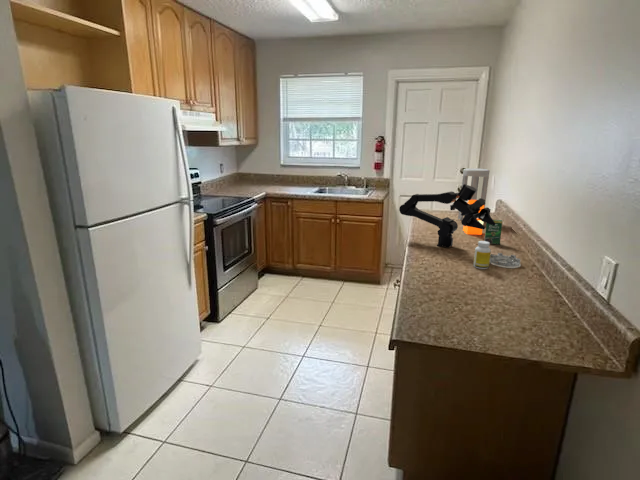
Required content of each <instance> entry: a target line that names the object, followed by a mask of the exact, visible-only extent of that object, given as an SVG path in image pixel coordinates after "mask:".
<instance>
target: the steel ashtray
mask: <svg viewBox="0 0 640 480" xmlns="http://www.w3.org/2000/svg"><path fill="white" fill-rule="evenodd" d="M489 265H492V266H495V267H498V268H503V269H518V268H521V266H522V264H521V258H517V255H515V254H510V255H506V254H505V255H504V254H503V252H497V254H492V253H491V254H490V261H489Z"/></svg>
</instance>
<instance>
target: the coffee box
mask: <svg viewBox="0 0 640 480" xmlns="http://www.w3.org/2000/svg"><path fill="white" fill-rule="evenodd" d="M493 221H494V222H495V223H496V224H495V225H491V224H488V223H485V229H484V231H485V233H484V240H483V241H487V242H489V243H490V245H492V244H493V245H500V244H501V239H502V238H501V235H502V228H503V227H502V226H503V219H502V220H501V219H493Z"/></svg>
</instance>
